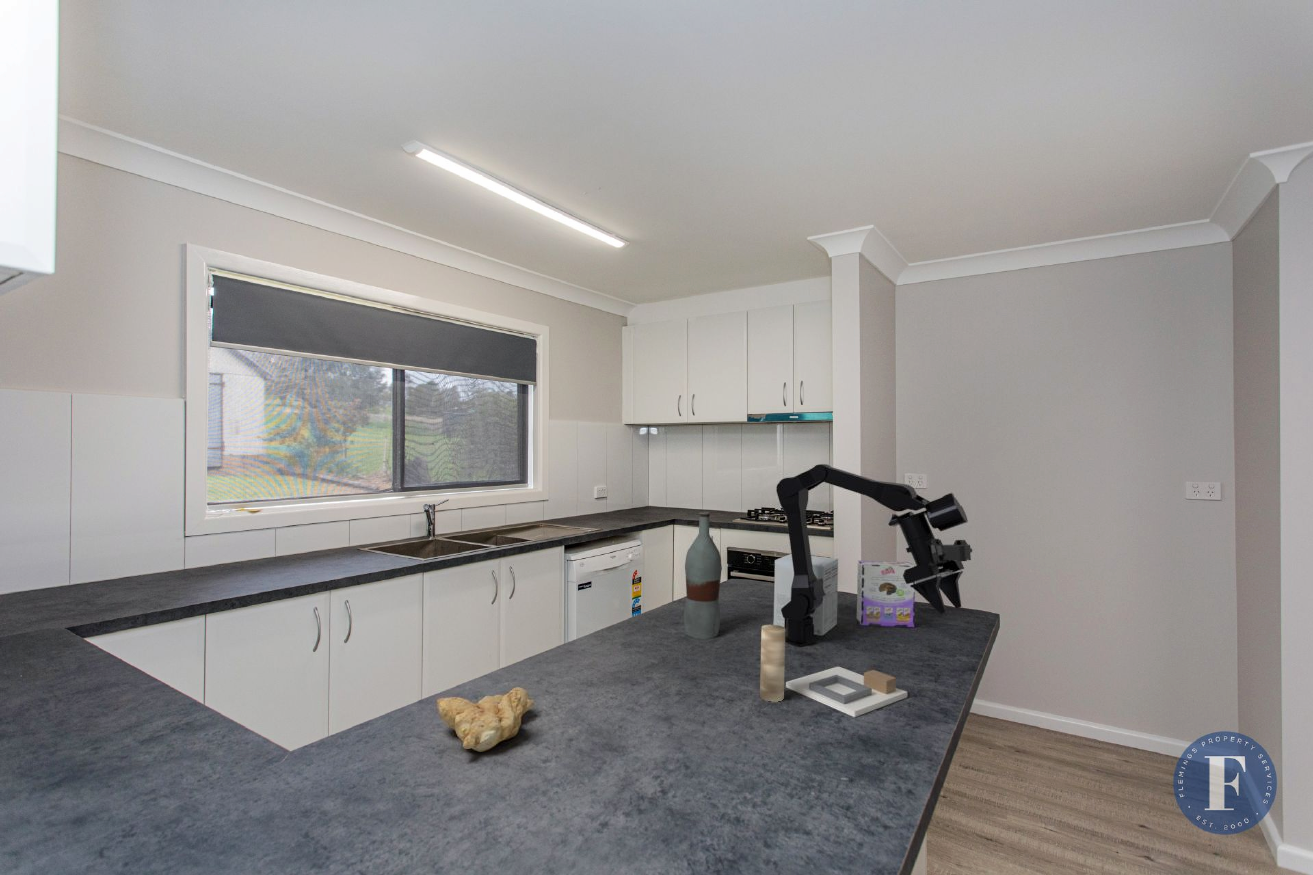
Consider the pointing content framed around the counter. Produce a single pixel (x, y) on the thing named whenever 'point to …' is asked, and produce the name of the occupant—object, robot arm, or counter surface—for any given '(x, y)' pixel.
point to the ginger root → (485, 717)
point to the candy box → (884, 594)
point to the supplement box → (829, 573)
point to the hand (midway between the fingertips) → (951, 610)
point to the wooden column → (772, 663)
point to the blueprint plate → (849, 690)
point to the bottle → (702, 584)
